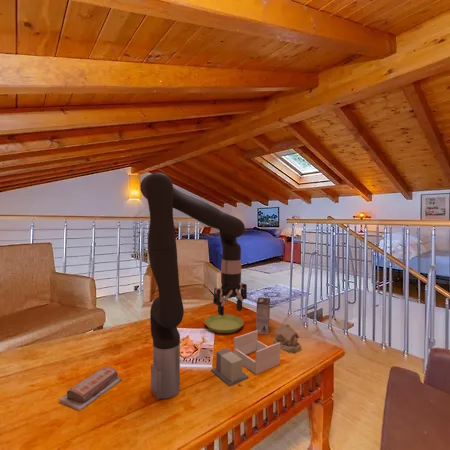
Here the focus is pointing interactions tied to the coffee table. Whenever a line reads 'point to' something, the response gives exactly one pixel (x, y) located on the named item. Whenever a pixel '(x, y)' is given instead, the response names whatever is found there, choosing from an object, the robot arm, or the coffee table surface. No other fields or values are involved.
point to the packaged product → (91, 388)
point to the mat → (227, 378)
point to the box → (229, 364)
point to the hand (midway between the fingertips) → (230, 312)
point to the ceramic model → (287, 338)
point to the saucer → (224, 323)
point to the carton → (264, 354)
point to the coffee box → (263, 315)
